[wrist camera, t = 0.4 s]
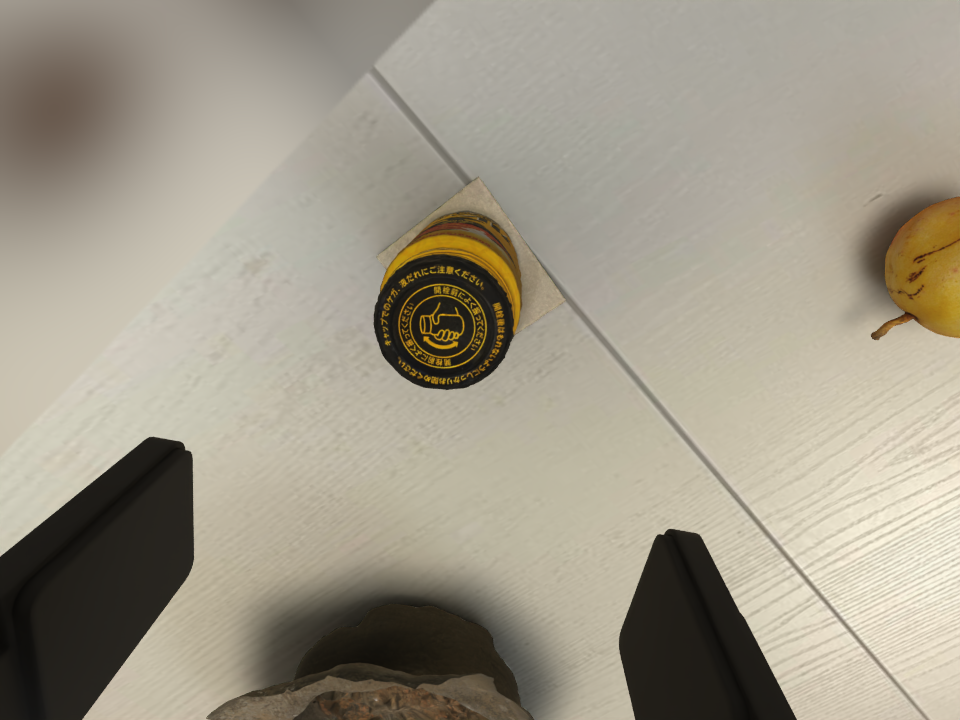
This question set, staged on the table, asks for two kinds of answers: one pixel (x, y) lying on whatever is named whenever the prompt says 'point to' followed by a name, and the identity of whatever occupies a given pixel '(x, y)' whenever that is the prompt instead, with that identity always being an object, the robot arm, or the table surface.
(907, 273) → the fruit
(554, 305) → the condiment
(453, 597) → the table surface
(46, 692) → the robot arm
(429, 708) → the stone bowl
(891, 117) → the table surface
